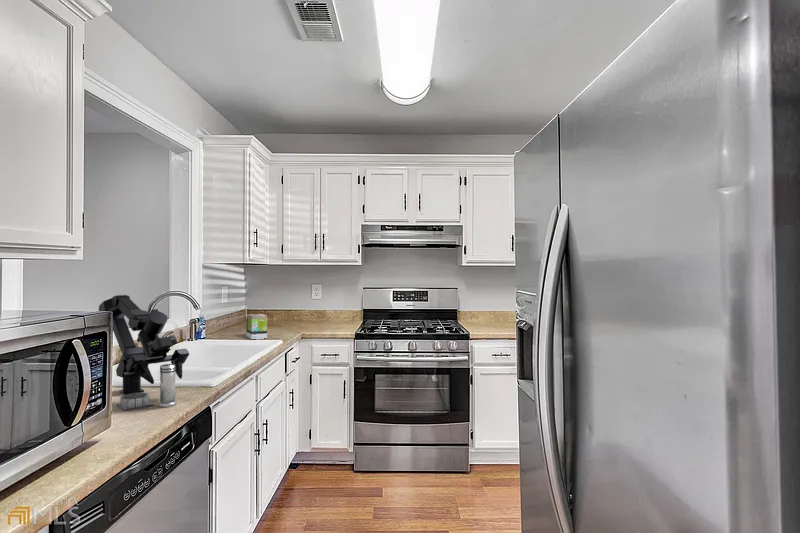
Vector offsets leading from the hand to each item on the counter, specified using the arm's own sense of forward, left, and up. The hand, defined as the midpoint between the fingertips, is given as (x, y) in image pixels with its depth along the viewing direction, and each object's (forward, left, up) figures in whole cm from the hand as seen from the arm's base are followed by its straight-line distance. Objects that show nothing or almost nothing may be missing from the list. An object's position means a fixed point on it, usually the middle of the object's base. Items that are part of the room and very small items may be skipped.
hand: (167, 380), depth 156 cm
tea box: (-116, +93, -8) cm, 148 cm away
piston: (0, 0, -8) cm, 8 cm away
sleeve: (-7, -8, -8) cm, 13 cm away
